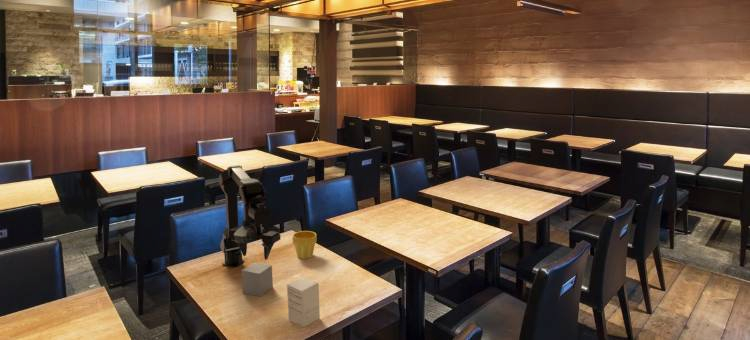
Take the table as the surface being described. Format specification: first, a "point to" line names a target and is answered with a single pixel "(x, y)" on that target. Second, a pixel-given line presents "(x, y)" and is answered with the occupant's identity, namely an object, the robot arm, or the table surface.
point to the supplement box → (303, 301)
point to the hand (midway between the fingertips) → (255, 257)
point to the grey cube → (257, 279)
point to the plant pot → (304, 243)
